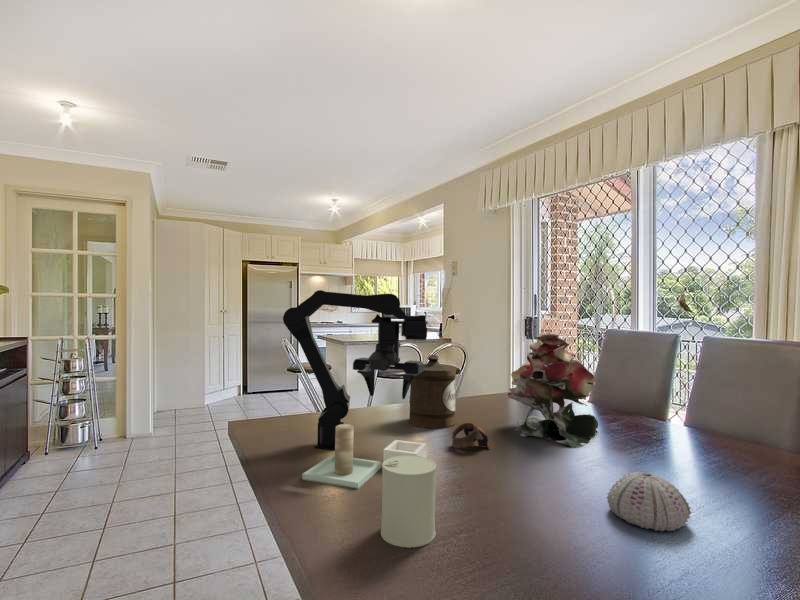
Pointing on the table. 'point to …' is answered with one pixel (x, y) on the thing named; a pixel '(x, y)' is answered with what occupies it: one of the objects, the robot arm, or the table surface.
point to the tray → (354, 480)
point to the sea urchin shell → (648, 502)
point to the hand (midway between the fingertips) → (387, 397)
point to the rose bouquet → (554, 392)
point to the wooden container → (433, 395)
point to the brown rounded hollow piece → (470, 436)
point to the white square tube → (405, 449)
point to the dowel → (344, 449)
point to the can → (408, 501)
